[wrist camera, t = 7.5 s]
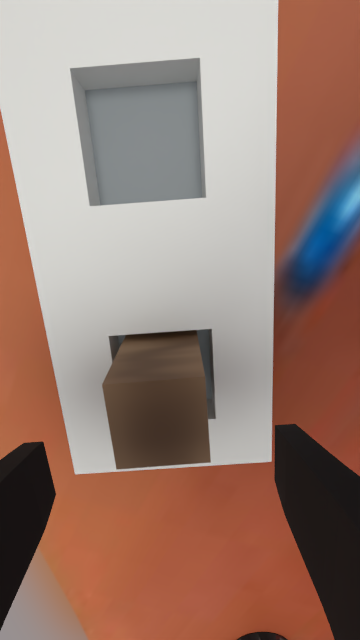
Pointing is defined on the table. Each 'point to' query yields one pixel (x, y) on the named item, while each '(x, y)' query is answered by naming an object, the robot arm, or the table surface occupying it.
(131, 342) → the walnut block
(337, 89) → the table surface
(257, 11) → the pocket board
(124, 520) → the table surface
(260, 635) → the deodorant
